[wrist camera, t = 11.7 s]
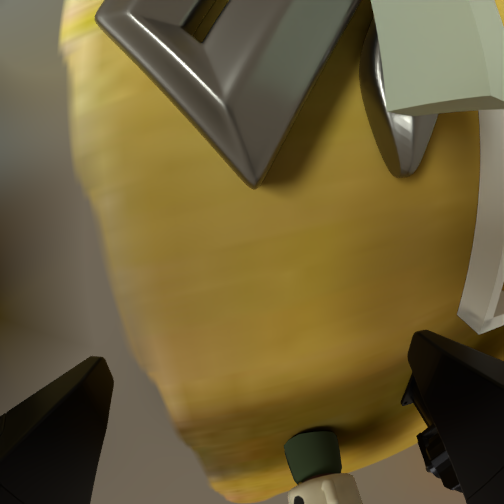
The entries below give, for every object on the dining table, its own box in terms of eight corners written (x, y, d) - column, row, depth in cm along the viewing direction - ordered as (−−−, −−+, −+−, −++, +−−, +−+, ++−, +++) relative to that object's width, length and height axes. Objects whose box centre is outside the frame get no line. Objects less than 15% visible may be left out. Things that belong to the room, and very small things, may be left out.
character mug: (276, 420, 26) (294, 530, 14) (342, 407, 26) (380, 508, 14) (281, 464, 30) (294, 547, 17) (334, 454, 30) (358, 533, 18)
